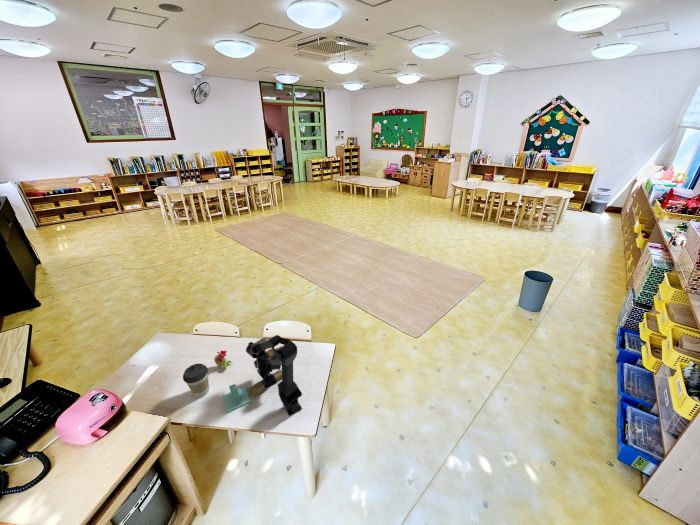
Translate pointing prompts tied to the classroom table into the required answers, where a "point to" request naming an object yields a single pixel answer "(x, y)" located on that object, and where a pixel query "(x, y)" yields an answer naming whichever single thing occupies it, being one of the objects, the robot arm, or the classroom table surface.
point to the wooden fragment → (271, 352)
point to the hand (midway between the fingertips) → (267, 383)
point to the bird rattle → (221, 359)
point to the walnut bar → (260, 387)
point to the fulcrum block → (235, 398)
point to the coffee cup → (197, 379)
